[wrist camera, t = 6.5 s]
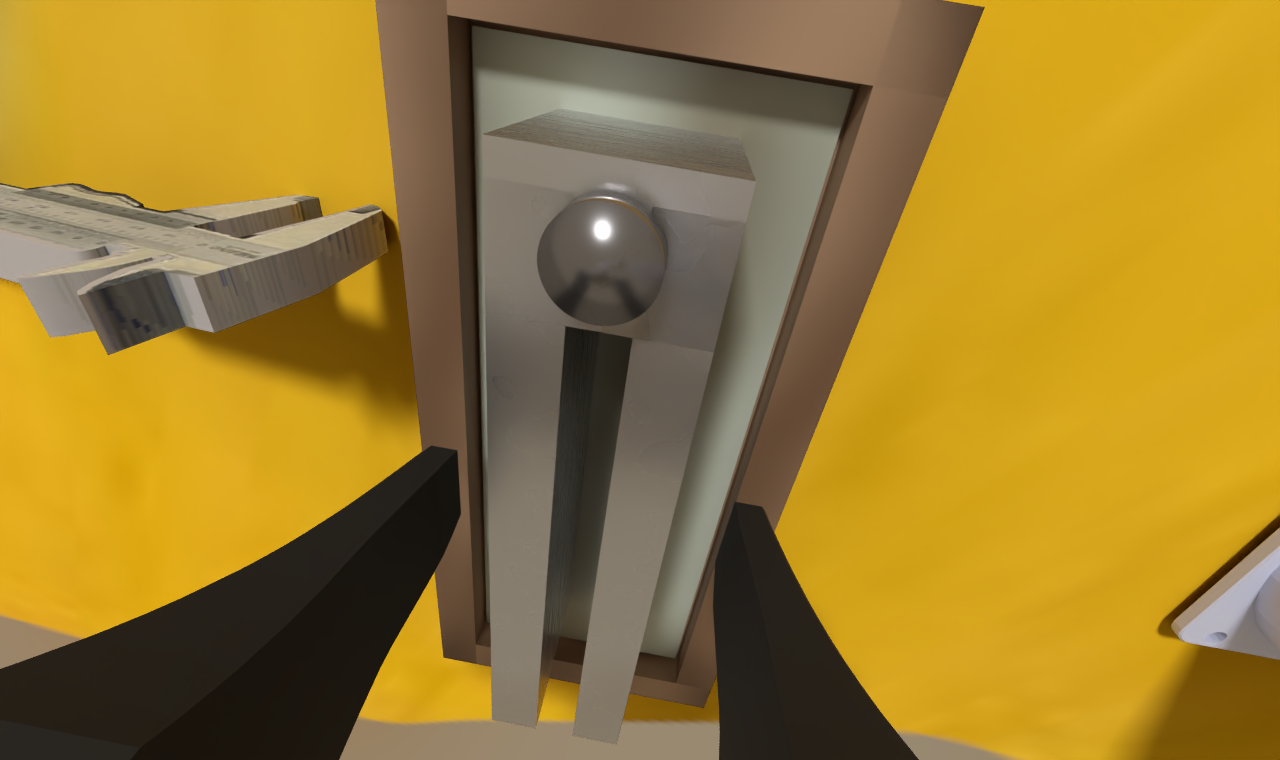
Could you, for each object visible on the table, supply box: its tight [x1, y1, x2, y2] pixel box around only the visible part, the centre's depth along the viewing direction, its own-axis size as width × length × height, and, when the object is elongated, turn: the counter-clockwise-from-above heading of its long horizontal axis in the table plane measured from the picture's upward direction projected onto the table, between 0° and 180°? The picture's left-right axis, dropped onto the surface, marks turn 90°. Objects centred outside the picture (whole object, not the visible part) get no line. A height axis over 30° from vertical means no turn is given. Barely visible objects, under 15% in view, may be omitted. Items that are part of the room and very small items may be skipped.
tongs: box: [482, 108, 756, 744], centre depth 12 cm, size 3×14×5 cm, turn 172°
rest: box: [375, 0, 985, 708], centre depth 14 cm, size 9×20×2 cm, turn 172°
